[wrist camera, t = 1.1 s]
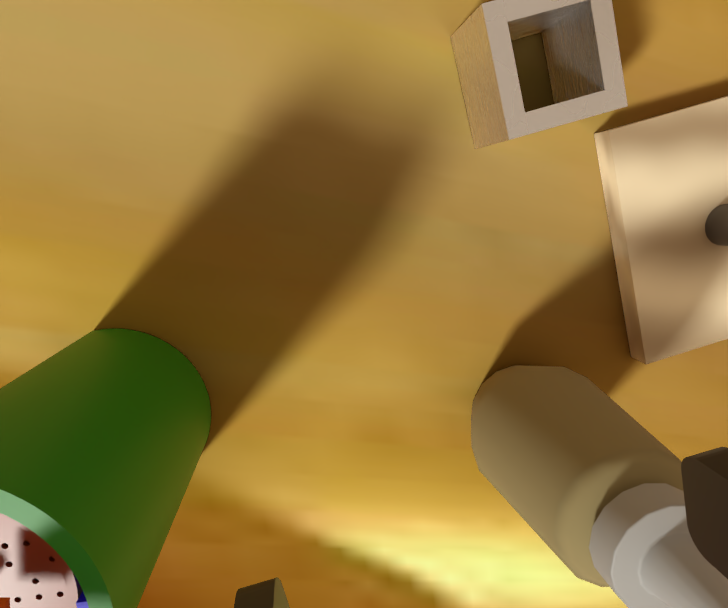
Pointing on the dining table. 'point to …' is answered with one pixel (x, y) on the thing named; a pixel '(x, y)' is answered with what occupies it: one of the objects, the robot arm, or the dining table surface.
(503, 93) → the collar
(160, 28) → the dining table surface
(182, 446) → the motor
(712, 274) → the stand
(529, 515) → the squeeze bottle
